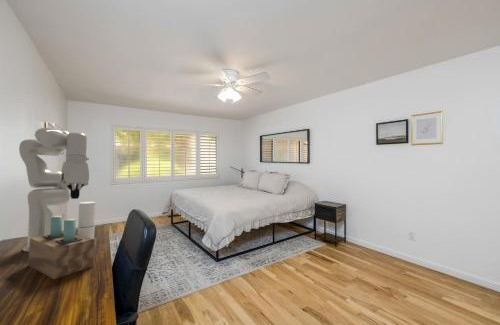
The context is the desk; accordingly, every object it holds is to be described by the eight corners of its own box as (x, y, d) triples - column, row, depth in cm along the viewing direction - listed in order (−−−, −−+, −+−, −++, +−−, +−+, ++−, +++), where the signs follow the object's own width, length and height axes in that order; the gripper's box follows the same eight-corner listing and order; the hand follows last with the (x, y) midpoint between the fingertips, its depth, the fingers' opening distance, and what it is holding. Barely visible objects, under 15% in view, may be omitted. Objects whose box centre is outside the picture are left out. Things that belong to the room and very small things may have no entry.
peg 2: (60, 248, 97) (62, 220, 97) (71, 245, 100) (73, 218, 100) (65, 250, 95) (66, 221, 95) (76, 247, 98) (77, 219, 99)
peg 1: (47, 243, 102) (49, 216, 103) (58, 241, 106) (60, 215, 106) (52, 245, 100) (53, 217, 101) (62, 242, 104) (64, 216, 104)
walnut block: (54, 279, 88) (55, 246, 88) (28, 265, 99) (29, 237, 100) (93, 266, 100) (94, 237, 101) (66, 255, 112) (67, 230, 112)
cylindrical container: (84, 252, 116) (87, 203, 117) (73, 251, 117) (75, 203, 118) (96, 248, 123) (98, 201, 124) (85, 246, 124) (88, 201, 125)
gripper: (88, 160, 115) (87, 196, 114) (52, 158, 102) (51, 199, 101) (97, 160, 112) (96, 197, 111) (61, 158, 98) (59, 200, 98)
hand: (74, 198), depth 106 cm, fingers closed
